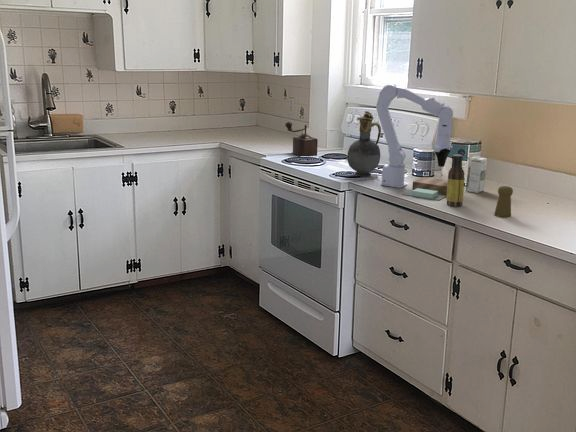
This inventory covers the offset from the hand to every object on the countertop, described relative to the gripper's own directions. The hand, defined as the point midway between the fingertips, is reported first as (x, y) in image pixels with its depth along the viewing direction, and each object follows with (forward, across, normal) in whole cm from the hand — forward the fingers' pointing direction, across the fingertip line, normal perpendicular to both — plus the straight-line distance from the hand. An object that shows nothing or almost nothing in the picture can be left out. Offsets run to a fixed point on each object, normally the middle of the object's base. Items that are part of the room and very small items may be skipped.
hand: (441, 166), depth 275 cm
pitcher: (+10, +6, +39) cm, 41 cm away
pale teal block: (+8, -17, 0) cm, 19 cm away
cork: (+10, -28, -35) cm, 46 cm away
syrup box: (+10, +5, -14) cm, 18 cm away
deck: (+10, -5, 0) cm, 11 cm away
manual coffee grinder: (+10, +32, +92) cm, 98 cm away
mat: (+10, -16, 0) cm, 19 cm away
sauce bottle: (+10, -24, -15) cm, 30 cm away
